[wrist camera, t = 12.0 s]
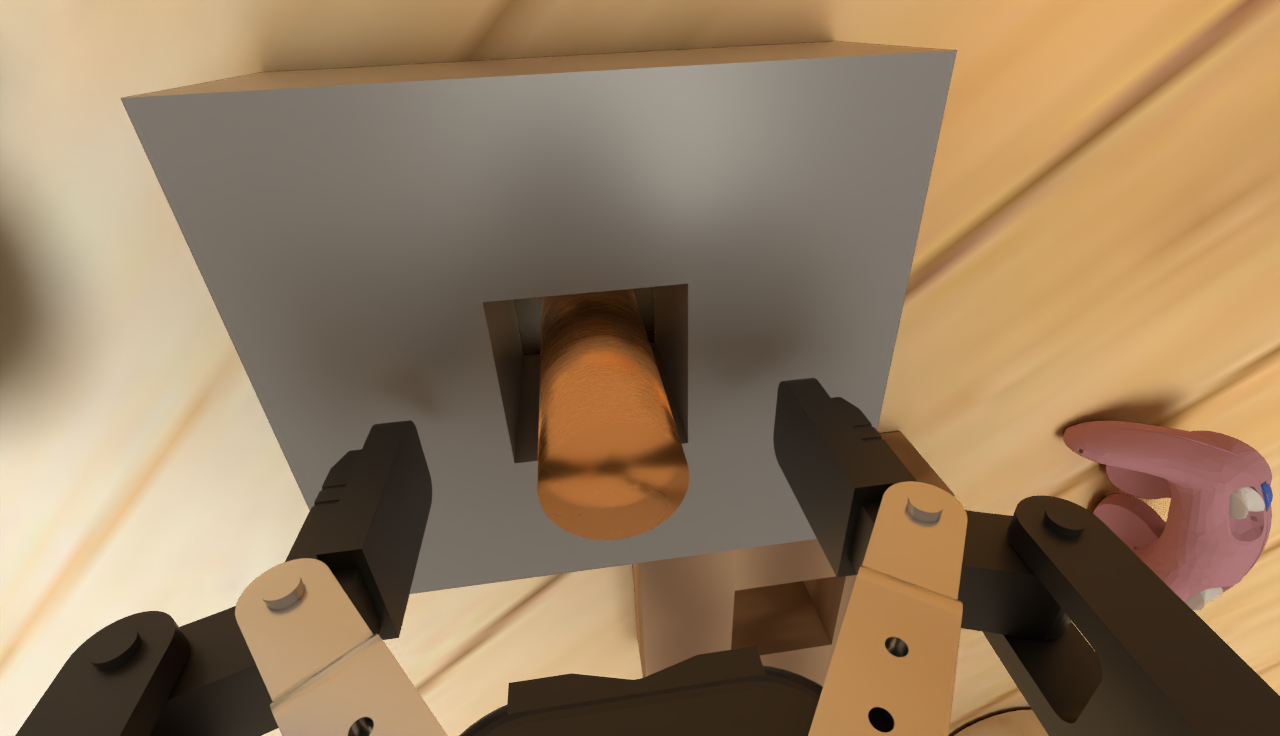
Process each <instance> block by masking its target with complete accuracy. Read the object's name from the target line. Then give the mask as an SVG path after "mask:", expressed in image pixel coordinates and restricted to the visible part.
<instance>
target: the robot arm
mask: <svg viewBox="0 0 1280 736" xmlns="http://www.w3.org/2000/svg"><path fill="white" fill-rule="evenodd" d="M773 443H774V451H775V455H776V459H777V462H778V464H779V466H780V468H781V470H782V472H783V474H784V476H785V478H786V479H787V481H788V483H789V485H790V487H791V489H792V491H793V493H794V495H795V497H796V499H797V501H798V503H799V505H800V507H801V509H802V511H803V513H804V514H805V516H806V518H807V520H808V522H809V524H810V526H811V528H812V530H813V532H814V534H815V536H816V538H817V540H818V542H819V544H820V546H821V548H822V549H823V551H824V553H825V555H826V557H827V559H828V561H829V563H830V565H831V567H832V569H833V571H834V573H835V575H836V577H844V576H851V575H857V577H856V581H855V584H854V587H853V591H852V594H851V597H850V600H849V604H848V607H847V610H846V613H845V617H844V620H843V623H842V627H841V630H840V633H839V636H838V640H837V643H836V646H835V649H834V653H833V656H832V659H831V663H830V666H829V669H828V672H827V676H826V679H825V682H824V685H823V686H821V685H819V684H818V683H816V682H814V681H812V680H810V679H808V678H806V677H804V676H802V675H799V674H796V673H793V672H790V671H788V670H784V669H780V668H775V667H771V666H763V665H762V662H761V659H760V656H759V653H758V649H757V646H752V647H746V648H739V649H732V650H726V651H719V652H712V653H706V654H699V655H696V656H693V657H691V658H689V659H686V660H684V661H682V662H679V663H677V664H675V665H672V666H670V667H668V668H665V669H663V670H661V671H658V672H656V673H654V674H651V675H649V676H647V677H644V678H641V679H637V680H627V679H618V678H608V677H599V676H589V675H579V674H566V675H559V676H553V677H546V678H540V679H533V680H526V681H520V682H513V683H509V691H508V705H505V706H503V707H501V708H499V709H497V710H495V711H493V712H491V713H489V714H488V715H486V716H484V717H483V718H481V719H480V720H478V721H477V722H476V723H474V724H473V725H471V726H470V727H469V728H467V729H466V730H465V731H464V732H463V733H462V734H461V735H459V736H948V733H949V725H950V716H951V707H952V699H953V690H954V682H955V673H956V664H957V656H958V647H959V639H960V630H961V628H965V629H971V630H978V631H982V632H983V633H984V635H985V636H986V638H987V640H988V641H989V643H990V644H991V646H992V647H993V649H994V650H995V652H996V654H997V655H998V657H999V658H1000V660H1001V661H1002V663H1003V665H1004V666H1005V668H1006V669H1007V671H1008V672H1009V674H1010V676H1011V677H1012V679H1013V680H1014V682H1015V683H1016V685H1017V687H1018V688H1019V690H1020V691H1021V693H1022V694H1023V696H1024V698H1025V699H1026V701H1027V702H1028V704H1029V705H1030V707H1031V709H1032V710H1018V711H1012V712H1006V713H1003V714H999V715H995V716H992V717H989V718H987V719H984V720H981V721H979V722H977V723H975V724H973V725H971V726H969V727H967V728H965V729H963V730H962V731H960V732H958V733H957V734H955V735H954V736H1280V696H1279V695H1278V694H1277V693H1276V692H1275V691H1274V690H1273V689H1272V688H1271V687H1270V686H1269V685H1268V684H1267V683H1266V682H1265V681H1264V680H1263V679H1262V678H1261V677H1260V676H1259V675H1258V674H1257V673H1256V672H1255V671H1254V670H1253V669H1252V668H1251V667H1250V666H1248V665H1247V664H1246V663H1245V662H1244V661H1243V660H1242V659H1241V658H1240V657H1239V656H1238V655H1237V654H1236V653H1235V652H1234V651H1233V650H1232V649H1231V648H1230V647H1229V646H1228V645H1227V644H1226V643H1225V642H1224V641H1223V640H1222V639H1221V638H1220V637H1219V636H1218V635H1217V634H1216V633H1215V632H1214V631H1213V630H1212V629H1211V628H1210V627H1209V626H1208V625H1207V624H1206V623H1205V622H1204V621H1203V620H1202V619H1201V618H1200V617H1199V616H1198V615H1197V614H1196V613H1195V612H1194V611H1193V610H1192V609H1191V608H1190V607H1189V606H1188V605H1187V604H1186V603H1185V602H1184V601H1183V600H1182V599H1181V598H1180V597H1179V596H1178V595H1177V594H1175V593H1174V592H1173V591H1172V590H1171V589H1170V588H1169V587H1168V586H1167V585H1166V584H1165V583H1164V582H1163V581H1162V580H1161V579H1160V578H1159V577H1158V576H1157V575H1156V574H1155V573H1154V572H1153V571H1152V570H1151V569H1150V568H1149V567H1148V566H1147V565H1146V564H1145V563H1144V562H1143V561H1142V560H1141V559H1140V558H1139V557H1138V556H1137V555H1136V554H1135V553H1134V552H1133V551H1132V550H1131V549H1130V548H1129V547H1128V546H1127V545H1126V544H1125V543H1124V542H1123V541H1122V540H1121V539H1120V538H1119V537H1118V536H1117V535H1116V534H1115V533H1114V532H1113V531H1112V530H1111V529H1110V528H1109V527H1108V526H1107V525H1106V524H1105V523H1104V522H1102V521H1101V520H1100V519H1099V518H1098V517H1097V516H1096V515H1094V514H1093V513H1091V512H1090V511H1088V510H1087V509H1085V508H1083V507H1081V506H1079V505H1077V504H1075V503H1073V502H1070V501H1067V500H1064V499H1061V498H1056V497H1051V496H1032V497H1028V498H1025V499H1023V500H1022V501H1020V502H1019V504H1018V505H1017V507H1016V510H1015V512H1014V515H1013V516H1007V515H999V514H990V513H982V512H974V511H967V510H965V509H964V507H963V506H962V504H961V503H960V502H959V501H958V500H957V499H956V498H955V497H954V496H952V495H951V494H950V493H948V492H946V491H944V490H943V489H940V488H938V487H936V486H933V485H930V484H926V483H922V482H918V481H917V480H916V479H915V478H914V476H913V475H912V474H911V473H910V471H909V470H908V469H907V468H906V466H905V465H904V464H903V463H902V461H901V460H900V459H899V458H898V456H897V455H896V454H895V453H894V451H893V450H892V449H891V448H890V446H889V445H888V444H887V443H886V441H885V440H882V436H881V435H880V434H879V432H878V431H877V430H876V429H875V427H872V424H871V422H870V421H869V420H868V419H867V417H866V416H865V415H864V414H863V412H862V411H861V410H860V409H859V408H857V407H856V406H854V405H853V404H851V403H849V402H848V401H846V400H845V399H843V398H842V397H834V398H831V397H830V396H829V395H828V393H827V392H826V391H825V389H824V388H823V387H822V385H821V384H820V383H819V381H818V380H817V379H816V378H805V379H796V380H787V381H781V382H780V384H779V386H778V393H777V403H776V413H775V424H774V434H773ZM431 504H432V481H431V476H430V472H429V469H428V465H427V462H426V459H425V455H424V452H423V449H422V445H421V442H420V439H419V435H418V432H417V429H416V426H415V424H414V423H413V421H411V420H409V421H399V422H390V423H381V424H374V425H373V426H372V428H371V430H370V432H369V434H368V437H367V439H366V441H365V443H364V446H363V448H362V449H360V450H351V451H348V452H347V453H346V454H345V455H344V456H343V457H342V458H341V459H340V460H339V461H338V462H337V463H336V464H335V465H334V466H333V467H332V468H331V469H330V471H329V473H328V475H327V477H326V479H325V481H324V483H323V485H322V491H320V492H319V494H318V496H317V498H316V500H315V502H314V507H312V508H311V510H310V512H309V514H308V516H307V518H306V520H305V522H304V524H303V526H302V528H301V530H300V532H299V534H298V536H297V539H296V541H295V543H294V545H293V547H292V549H291V551H290V553H289V555H288V557H287V559H286V561H285V562H284V563H282V564H279V565H277V566H275V567H273V568H271V569H269V570H268V571H266V572H264V573H263V574H261V575H260V576H259V577H257V578H256V579H255V580H254V581H253V582H252V583H251V584H249V586H248V587H247V588H246V589H245V590H244V591H243V593H242V594H241V596H240V598H239V600H238V602H237V604H236V606H234V607H232V608H229V609H227V610H224V611H222V612H219V613H216V614H214V615H211V616H208V617H206V618H203V619H200V620H197V621H195V622H192V623H189V624H187V625H184V626H181V627H178V625H177V624H176V622H175V621H174V620H173V618H172V617H171V616H170V615H168V614H166V613H164V612H160V611H148V612H141V613H137V614H133V615H131V616H128V617H125V618H123V619H120V620H118V621H116V622H114V623H112V624H110V625H108V626H106V627H105V628H103V629H102V630H100V631H99V632H97V633H96V634H94V635H93V636H92V637H90V638H89V639H88V640H86V641H85V642H84V643H83V644H82V645H81V646H80V647H79V648H78V649H77V650H76V651H75V652H74V653H73V654H72V655H71V656H70V658H69V659H68V660H67V662H66V663H65V664H64V666H63V667H62V669H61V670H60V672H59V673H58V675H57V676H56V678H55V679H54V680H53V682H52V683H51V685H50V686H49V688H48V689H47V691H46V692H45V693H44V695H43V696H42V698H41V699H40V701H39V702H38V704H37V705H36V706H35V708H34V709H33V711H32V712H31V714H30V715H29V717H28V718H27V720H26V721H25V722H24V724H23V725H22V727H21V728H20V730H19V731H18V733H17V734H16V735H15V736H261V735H263V734H266V733H268V732H270V731H272V730H275V729H277V728H279V729H280V732H281V734H282V736H447V734H446V733H445V731H444V730H443V728H442V727H441V725H440V724H439V722H438V721H437V719H436V718H435V716H434V715H433V713H432V712H431V711H430V709H429V708H428V706H427V705H426V703H425V702H424V700H423V699H422V697H421V696H420V694H419V693H418V691H417V690H416V688H415V687H414V685H413V684H412V683H411V681H410V680H409V678H408V677H407V675H406V674H405V672H404V671H403V669H402V668H401V666H400V665H399V663H398V662H397V660H396V659H395V657H394V656H393V655H392V653H391V652H390V650H389V649H388V647H387V646H386V644H385V643H384V641H383V640H386V639H393V638H399V634H400V630H401V626H402V622H403V618H404V614H405V610H406V606H407V602H408V598H409V594H410V590H411V585H412V581H413V577H414V573H415V569H416V565H417V561H418V557H419V553H420V549H421V545H422V541H423V537H424V533H425V528H426V524H427V520H428V516H429V512H430V508H431ZM1071 620H1072V622H1073V623H1074V624H1075V625H1076V627H1077V628H1078V629H1079V631H1080V632H1081V633H1082V634H1083V636H1084V637H1085V638H1086V639H1087V641H1088V642H1089V643H1090V644H1091V646H1092V647H1093V648H1094V650H1095V651H1094V650H1093V648H1092V647H1091V646H1090V645H1089V643H1088V642H1087V641H1086V640H1085V638H1084V637H1083V636H1082V635H1081V633H1080V632H1079V631H1078V630H1077V628H1076V627H1075V626H1074V624H1073V623H1072V622H1071Z"/></svg>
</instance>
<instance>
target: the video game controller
mask: <svg viewBox="0 0 1280 736" xmlns="http://www.w3.org/2000/svg"><path fill="white" fill-rule="evenodd" d="M1063 440H1064V442H1065V444H1066V445H1067V446H1068V447H1069V448H1070V449H1071V450H1072V451H1074V452H1075V453H1077V454H1079V455H1080V456H1082V457H1085V458H1087V459H1089V460H1092V461H1094V462H1097V463H1100V464H1105V465H1106V473H1107V476H1108V478H1109V480H1110V481H1111V482H1112V484H1113V485H1114V486H1115V487H1117V488H1118V489H1120V490H1121V491H1123V492H1125V493H1127V494H1129V495H1131V496H1129V495H1125V494H1121V493H1114V494H1109V495H1108V496H1106V497H1105V498H1104V499H1103V500H1102V501H1101V502H1100V503H1099V504H1098V505H1097V507H1096V509H1095V510H1094V512H1093V514H1094V515H1096V516H1097V517H1098V518H1099V519H1100V520H1101V521H1102V522H1104V523H1105V524H1106V525H1107V526H1108V527H1109V528H1110V529H1111V530H1112V531H1113V532H1114V533H1115V534H1116V535H1117V536H1118V537H1119V538H1120V539H1121V540H1122V541H1123V542H1124V543H1125V544H1126V545H1127V546H1128V547H1129V548H1130V549H1131V550H1132V551H1133V552H1134V553H1135V554H1136V555H1137V556H1138V557H1139V558H1140V559H1141V560H1142V561H1143V562H1144V563H1145V564H1146V565H1147V566H1148V567H1149V568H1150V569H1151V570H1152V571H1153V572H1154V573H1155V574H1156V575H1157V576H1158V577H1159V578H1160V579H1161V580H1162V581H1163V582H1164V583H1165V584H1166V585H1167V586H1168V587H1169V588H1170V589H1171V590H1172V591H1173V592H1174V593H1175V594H1177V595H1178V596H1179V597H1180V598H1181V599H1182V600H1183V601H1184V602H1185V603H1186V604H1187V605H1188V606H1189V607H1190V608H1191V609H1192V610H1196V611H1197V610H1202V609H1203V608H1204V605H1205V602H1208V601H1212V600H1214V599H1216V598H1218V597H1220V596H1221V595H1222V594H1223V592H1225V591H1226V590H1228V589H1229V588H1231V587H1232V586H1233V585H1235V584H1237V583H1238V582H1240V581H1241V580H1242V578H1243V577H1244V576H1245V575H1246V574H1247V573H1248V572H1249V570H1250V569H1251V568H1252V567H1253V566H1254V564H1255V563H1256V561H1257V560H1258V558H1259V557H1260V555H1261V553H1262V552H1263V550H1264V547H1265V545H1266V542H1267V539H1268V536H1269V532H1270V527H1271V517H1272V511H1271V502H1272V497H1273V495H1272V490H1271V487H1270V485H1271V480H1272V475H1271V470H1270V467H1269V465H1268V463H1267V462H1266V460H1265V459H1264V458H1263V457H1262V456H1261V455H1260V454H1259V453H1258V452H1257V451H1256V450H1255V449H1254V448H1252V447H1251V446H1249V445H1248V444H1246V443H1244V442H1242V441H1240V440H1238V439H1235V438H1233V437H1230V436H1227V435H1224V434H1221V433H1216V432H1211V431H1191V432H1188V431H1184V430H1178V429H1172V428H1167V427H1161V426H1155V425H1149V424H1142V423H1135V422H1125V421H1091V422H1083V423H1080V424H1077V425H1074V426H1071V427H1068V428H1067V429H1066V430H1065V433H1064V435H1063ZM1132 496H1135V497H1138V498H1144V499H1160V498H1166V497H1168V498H1171V502H1170V507H1169V513H1168V518H1167V521H1166V522H1165V521H1163V520H1162V518H1161V517H1160V516H1159V515H1158V514H1157V513H1156V511H1154V510H1153V509H1152V508H1151V507H1150V506H1148V505H1147V504H1146V503H1144V502H1143V501H1141V500H1139V499H1137V498H1134V497H1132Z"/></svg>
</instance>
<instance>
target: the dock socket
mask: <svg viewBox="0 0 1280 736" xmlns="http://www.w3.org/2000/svg"><path fill="white" fill-rule="evenodd" d="M956 52H957V50H946V49H932V48H919V47H906V46H893V45H880V44H867V43H853V42H840V41H828V42H809V43H791V44H773V45H754V46H736V47H717V48H699V49H681V50H662V51H644V52H625V53H607V54H589V55H570V56H552V57H533V58H515V59H497V60H478V61H460V62H442V63H423V64H405V65H386V66H368V67H350V68H331V69H313V70H294V71H276V72H260V73H254V74H249V75H244V76H238V77H233V78H227V79H222V80H216V81H211V82H205V83H200V84H194V85H189V86H184V87H178V88H173V89H167V90H162V91H156V92H151V93H145V94H140V95H134V96H129V97H123V98H121V100H122V102H123V105H124V107H125V109H126V111H127V113H128V116H129V118H130V120H131V122H132V124H133V126H134V129H135V131H136V133H137V135H138V137H139V140H140V142H141V144H142V146H143V148H144V150H145V153H146V155H147V157H148V159H149V161H150V163H151V166H152V168H153V170H154V172H155V174H156V177H157V179H158V181H159V183H160V185H161V187H162V190H163V192H164V194H165V196H166V198H167V201H168V203H169V205H170V207H171V209H172V211H173V214H174V216H175V218H176V220H177V222H178V224H179V227H180V229H181V231H182V233H183V235H184V238H185V240H186V242H187V244H188V246H189V248H190V251H191V253H192V255H193V257H194V259H195V261H196V264H197V266H198V268H199V270H200V272H201V275H202V277H203V279H204V281H205V283H206V285H207V288H208V290H209V292H210V294H211V296H212V299H213V301H214V303H215V305H216V307H217V309H218V312H219V314H220V316H221V318H222V320H223V322H224V325H225V327H226V329H227V331H228V333H229V336H230V338H231V340H232V342H233V344H234V346H235V349H236V351H237V353H238V355H239V357H240V360H241V362H242V364H243V366H244V368H245V370H246V373H247V375H248V377H249V379H250V381H251V383H252V386H253V388H254V390H255V392H256V394H257V397H258V399H259V401H260V403H261V405H262V407H263V410H264V412H265V414H266V416H267V418H268V420H269V423H270V425H271V427H272V429H273V431H274V434H275V436H276V438H277V440H278V442H279V444H280V447H281V449H282V451H283V453H284V455H285V458H286V460H287V462H288V464H289V466H290V468H291V471H292V473H293V475H294V477H295V479H296V481H297V484H298V486H299V488H300V490H301V492H302V495H303V497H304V499H305V501H306V503H307V505H308V508H309V510H311V508H312V507H314V502H315V500H316V498H317V496H318V494H319V492H320V491H322V485H323V483H324V481H325V479H326V477H327V475H328V473H329V471H330V469H331V468H332V467H333V466H334V465H335V464H336V463H337V462H338V461H339V460H340V459H341V458H342V457H343V456H344V455H345V454H346V453H347V452H348V451H351V450H360V449H362V448H363V446H364V443H365V441H366V439H367V437H368V434H369V432H370V430H371V428H372V426H373V425H374V424H381V423H390V422H399V421H409V420H411V421H413V423H414V424H415V426H416V429H417V432H418V435H419V439H420V442H421V445H422V449H423V452H424V455H425V459H426V462H427V465H428V469H429V472H430V476H431V481H432V504H431V508H430V512H429V516H428V520H427V524H426V528H425V533H424V537H423V541H422V545H421V549H420V553H419V557H418V561H417V565H416V569H415V573H414V577H413V581H412V585H411V590H410V594H413V593H420V592H428V591H435V590H442V589H450V588H457V587H465V586H472V585H479V584H487V583H494V582H502V581H509V580H516V579H524V578H531V577H538V576H546V575H553V574H561V573H568V572H575V571H583V570H590V569H598V568H605V567H612V566H620V565H627V564H635V563H642V562H649V561H657V560H664V559H671V558H679V557H686V556H694V555H701V554H708V553H716V552H723V551H731V550H738V549H745V548H753V547H760V546H768V545H775V544H782V543H790V542H797V541H804V540H812V539H817V538H816V536H815V534H814V532H813V530H812V528H811V526H810V524H809V522H808V520H807V518H806V516H805V514H804V513H803V511H802V509H801V507H800V505H799V503H798V501H797V499H796V497H795V495H794V493H793V491H792V489H791V487H790V485H789V483H788V481H787V479H786V478H785V476H784V474H783V472H782V470H781V468H780V466H779V464H778V462H777V459H776V455H775V451H774V443H773V434H774V424H775V413H776V403H777V393H778V386H779V384H780V382H781V381H787V380H796V379H805V378H816V379H817V380H818V381H819V383H820V384H821V385H822V387H823V388H824V389H825V391H826V392H827V393H828V395H829V396H830V397H831V398H834V397H842V398H843V399H845V400H846V401H848V402H849V403H851V404H853V405H854V406H856V407H857V408H859V409H860V410H861V411H862V412H863V414H864V415H865V416H866V417H867V419H868V420H869V421H870V422H871V424H872V427H875V429H876V430H877V427H878V422H879V418H880V413H881V408H882V403H883V399H884V394H885V389H886V384H887V380H888V375H889V370H890V365H891V361H892V356H893V351H894V346H895V342H896V337H897V332H898V328H899V323H900V318H901V313H902V309H903V304H904V299H905V294H906V290H907V285H908V280H909V275H910V271H911V266H912V261H913V256H914V252H915V247H916V242H917V237H918V233H919V228H920V223H921V218H922V214H923V209H924V204H925V199H926V195H927V190H928V185H929V181H930V176H931V171H932V166H933V162H934V157H935V152H936V147H937V143H938V138H939V133H940V128H941V124H942V119H943V114H944V109H945V105H946V100H947V95H948V90H949V86H950V81H951V76H952V71H953V67H954V62H955V57H956ZM645 287H653V295H654V326H655V342H651V343H650V345H651V348H652V352H653V355H654V358H655V361H656V364H657V368H658V371H659V374H660V377H661V380H662V384H663V387H664V390H665V393H666V396H667V399H668V403H669V406H670V409H671V412H672V415H673V419H674V422H675V425H676V428H677V431H678V435H679V438H680V441H681V444H682V447H683V450H684V454H685V457H686V460H687V464H688V467H689V476H690V477H689V485H688V489H687V492H686V495H685V497H684V499H683V501H682V503H681V504H680V506H679V507H678V508H677V509H676V511H675V512H674V513H673V514H672V515H671V516H670V517H669V518H668V519H666V520H665V521H664V522H663V523H661V524H660V525H658V526H656V527H655V528H653V529H651V530H649V531H647V532H644V533H642V534H639V535H636V536H633V537H629V538H624V539H617V540H595V539H588V538H584V537H580V536H577V535H574V534H572V533H569V532H567V531H565V530H564V529H562V528H560V527H559V526H558V525H556V524H555V523H554V522H553V521H552V520H551V519H550V518H549V517H548V516H547V515H546V513H545V512H544V510H543V508H542V506H541V504H540V502H539V498H538V492H537V471H538V430H539V390H540V354H532V355H523V351H522V346H521V340H520V334H519V328H518V322H517V316H516V310H515V304H514V300H515V299H526V298H537V297H547V296H558V295H569V294H580V293H591V292H602V291H613V290H624V289H635V288H645Z"/></svg>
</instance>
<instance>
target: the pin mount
mask: <svg viewBox="0 0 1280 736" xmlns="http://www.w3.org/2000/svg"><path fill="white" fill-rule="evenodd" d="M880 435H881V436H882V440H885V441H886V443H887V444H888V445H889V446H890V448H891V449H892V450H893V451H894V453H895V454H896V455H897V456H898V458H899V459H900V460H901V461H902V463H903V464H904V465H905V466H906V468H907V469H908V470H909V471H910V473H911V474H912V475H913V476H914V478H915V479H916V480H917V481H918V482H922V483H926V484H930V485H933V486H936V487H938V488H940V489H943V490H944V491H946V492H948V493H950V494H951V495H952V496H955V495H954V494H953V493H952V491H951V490H950V489H949V488H948V487H947V486H946V484H945V483H944V482H943V481H942V480H941V478H940V477H939V476H938V475H937V474H936V473H935V471H934V470H933V469H932V468H931V467H930V466H929V464H928V463H927V462H926V461H925V460H924V458H923V457H922V456H921V455H920V454H919V453H918V451H917V450H916V449H915V448H914V447H913V446H912V444H911V443H910V442H909V441H908V440H907V439H906V437H905V436H904V435H903V434H902V433H901V431H898V432H889V433H881V434H880ZM856 577H857V575H851V576H844V577H836V575H835V573H834V571H833V569H832V567H831V565H830V563H829V561H828V559H827V557H826V555H825V553H824V551H823V549H822V548H821V546H820V544H819V542H818V540H817V539H812V540H804V541H797V542H790V543H782V544H775V545H768V546H760V547H753V548H745V549H738V550H731V551H723V552H716V553H708V554H701V555H694V556H686V557H679V558H671V559H664V560H657V561H649V562H642V563H635V564H633V578H634V592H635V606H636V620H637V634H638V645H639V652H640V659H641V666H642V673H643V678H644V677H647V676H649V675H651V674H654V673H656V672H658V671H661V670H663V669H665V668H668V667H670V666H672V665H675V664H677V663H679V662H682V661H684V660H686V659H689V658H691V657H693V656H696V655H699V654H706V653H712V652H719V651H726V650H732V649H739V648H746V647H752V646H757V649H758V653H759V656H760V659H761V662H762V665H763V666H771V667H775V668H780V669H784V670H788V671H790V672H793V673H796V674H799V675H802V676H804V677H806V678H808V679H810V680H812V681H814V682H816V683H818V684H819V685H821V686H823V685H824V682H825V679H826V676H827V672H828V669H829V666H830V663H831V659H832V656H833V653H834V649H835V646H836V643H837V640H838V636H839V633H840V630H841V627H842V623H843V620H844V617H845V613H846V610H847V607H848V604H849V600H850V597H851V594H852V591H853V587H854V584H855V581H856Z"/></svg>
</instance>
